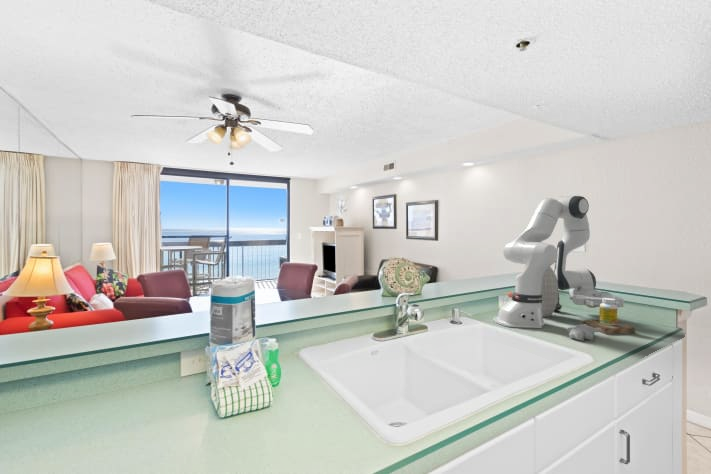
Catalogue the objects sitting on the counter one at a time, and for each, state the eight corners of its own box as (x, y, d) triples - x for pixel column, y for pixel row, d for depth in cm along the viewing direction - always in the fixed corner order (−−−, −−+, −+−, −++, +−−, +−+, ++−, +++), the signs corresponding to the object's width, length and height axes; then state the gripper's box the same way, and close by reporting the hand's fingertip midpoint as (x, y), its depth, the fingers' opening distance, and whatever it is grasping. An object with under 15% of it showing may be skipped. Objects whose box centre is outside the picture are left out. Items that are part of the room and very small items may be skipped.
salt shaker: (558, 310, 180) (559, 288, 179) (564, 313, 174) (564, 290, 173) (547, 310, 180) (547, 288, 180) (552, 312, 174) (553, 290, 174)
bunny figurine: (561, 327, 136) (580, 318, 143) (562, 339, 136) (581, 330, 144) (586, 334, 128) (605, 324, 135) (587, 346, 128) (606, 336, 135)
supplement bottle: (600, 324, 145) (601, 299, 145) (598, 320, 151) (598, 296, 150) (618, 326, 142) (619, 300, 142) (615, 322, 148) (615, 298, 148)
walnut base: (605, 334, 140) (605, 328, 140) (583, 325, 152) (583, 320, 152) (635, 333, 141) (635, 327, 141) (611, 325, 153) (611, 319, 153)
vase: (532, 317, 165) (533, 262, 164) (527, 311, 177) (528, 260, 176) (561, 319, 161) (562, 263, 160) (553, 313, 173) (555, 260, 172)
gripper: (567, 291, 164) (580, 296, 151) (614, 292, 160) (631, 299, 146) (567, 303, 164) (580, 310, 151) (613, 305, 160) (631, 312, 146)
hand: (606, 304), depth 148 cm, fingers open, 8 cm apart
